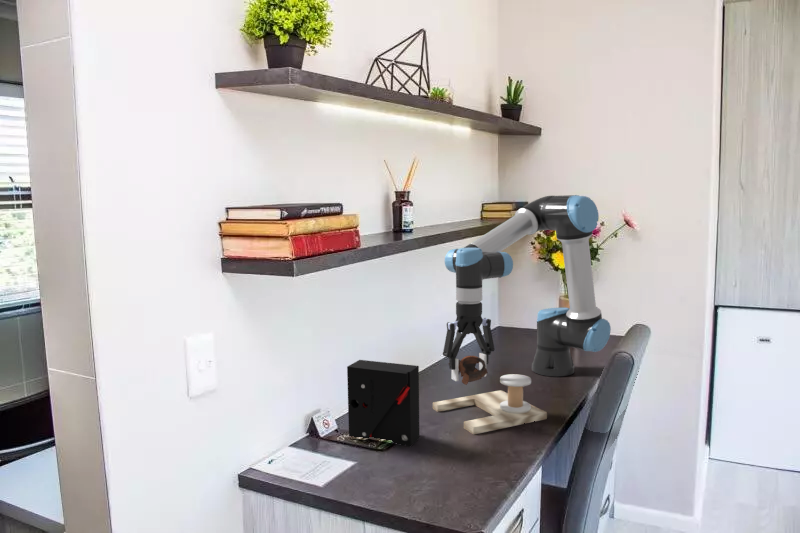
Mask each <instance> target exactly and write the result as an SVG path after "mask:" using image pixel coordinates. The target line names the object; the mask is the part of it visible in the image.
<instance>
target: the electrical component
mask: <svg viewBox="0 0 800 533" xmlns="http://www.w3.org/2000/svg"><path fill="white" fill-rule="evenodd" d="M346 370H347V372H346V375H347V409H348V410H347V411H348V412H347V416H348V437H349V436H354V437H363V438H369V437H374V438H380V439H386V440H392V441H393V442H394V443H397V444H401V445H400V446H404V445H406V446H405V447H410V446H411V445H412V444H413V445H414V444H415V443H416V442H417V441H418V440H419V439H420V378H419V377H420V374H419V373H420V366H419V365H415V364H414V365H413V364H404V363H395V362H394V363H393V362H384V361H376V360H375V361H374V360H365V359H359V360H357V361H355V362H353V363H351V364H349V365H348V366H346ZM397 444H396V445H397ZM413 445H412V446H413ZM412 446H411V447H412Z"/></svg>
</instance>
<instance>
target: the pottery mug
mask: <svg viewBox="0 0 800 533" xmlns="http://www.w3.org/2000/svg"><path fill="white" fill-rule="evenodd" d="M479 362H480V363H482V365H483V368H482V369H481V370H479V368H476V366H477V364H479ZM447 364H448V365H449V362H448V363H447ZM485 367H486V368H485ZM458 374H459V375H460V377H461V378H462V379H461V383H462V385H463V384H464V385H466V386H467V384H469V383H471V382H477V381H479V380H482V378H485V377H484V376H485V374H486V375H487V374H488V368H487V365H485V362H484V360H482V359H481V358H479V356H476V355H466V356H463V358H461V359H458Z"/></svg>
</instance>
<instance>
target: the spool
mask: <svg viewBox="0 0 800 533" xmlns="http://www.w3.org/2000/svg"><path fill="white" fill-rule="evenodd" d="M499 383H500V384H501V385H504V386H506V387H507V393H508V400H507V401H503V402H501V403H500V409H501V410H502V411H504V412H507V413H514V414H521V413H527V412H529V411H530V410H531V405H532V404H531V405H530V402H527V401H526V400H524V387H528V386H530V385H531V384H532V378H531V377H530V376H528V375H524V374H516V373H515V374H513V373H511V374H504V375H501V376H500V377H499Z"/></svg>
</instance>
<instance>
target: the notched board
mask: <svg viewBox="0 0 800 533" xmlns="http://www.w3.org/2000/svg"><path fill="white" fill-rule="evenodd" d="M507 400H508V392H505V391H504V390H500V389H499V390H495V391H488V392H483V393H478V394H477V393H476V394H472V395H467V396H466V395H465V396H462V397H456V398H449V399H444V400H438V401H433V402H432V409H433V410H434V411H436V413H437V412H444V411H450V410H455V409H459V408H464V407H469V406H475V407H478V408H479V409H481V410H482V411H484V412H486V413H488V414H490V416H489V415H488V416H485V417H480V418H475V419H471V420H465V421H463V429H464V430H466V431H467V432H469V433H470V434H472V435H477V434H482V433H487V432H492V431H496V430H501V429H502V430H503V429H506V428H510V427H515V426H520V425H525V424H529V423H534V421H535V422H539V421H545V420H547V418H548V413H547V411H546V410H543V409H541V408H538V407H537V406H535V405H532V404H530V403H529V404H530V405H531V410H530V411H529V412H527V413H521V414H514V413H507V412H504V411H502V410H501V409H500V403H501V402H503V401H507ZM524 423H525V424H524Z"/></svg>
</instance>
